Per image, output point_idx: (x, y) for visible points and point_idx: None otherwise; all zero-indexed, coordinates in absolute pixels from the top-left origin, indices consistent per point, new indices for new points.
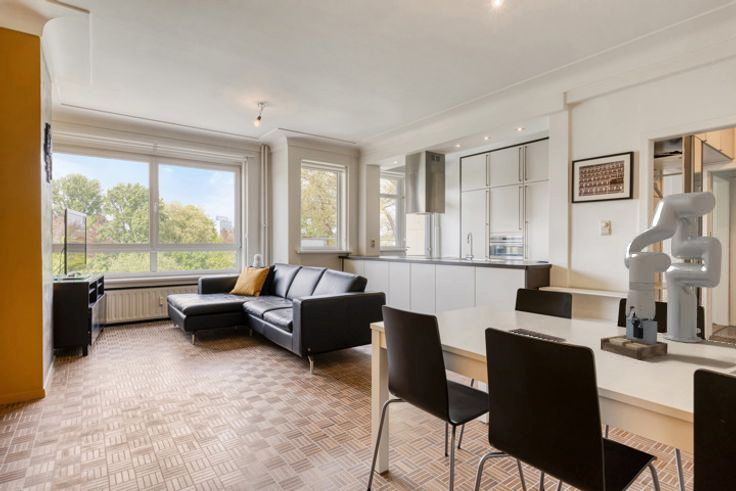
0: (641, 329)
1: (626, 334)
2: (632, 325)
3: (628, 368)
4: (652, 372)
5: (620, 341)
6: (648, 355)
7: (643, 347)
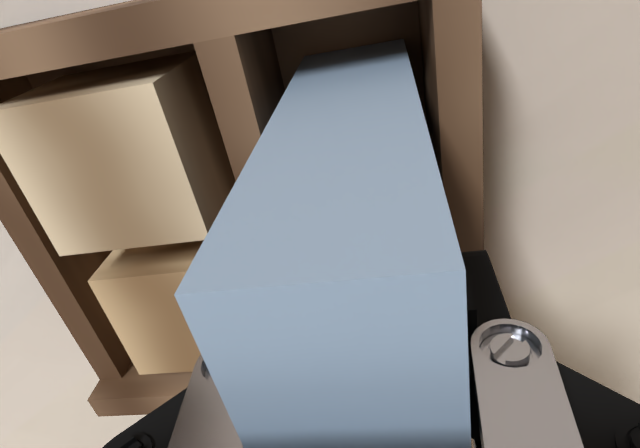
0: None
1: (279, 111)
2: (200, 360)
3: (17, 363)
4: (108, 424)
5: (59, 235)
6: None
7: (144, 411)
